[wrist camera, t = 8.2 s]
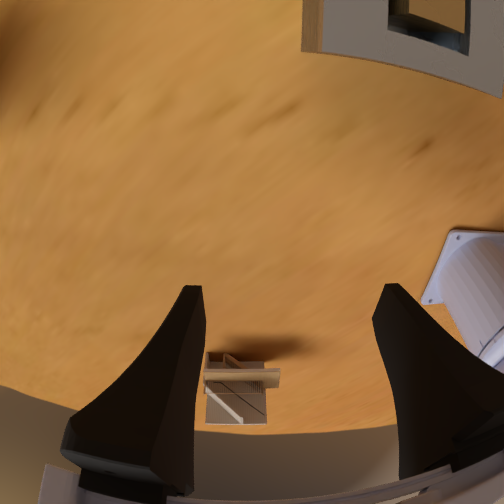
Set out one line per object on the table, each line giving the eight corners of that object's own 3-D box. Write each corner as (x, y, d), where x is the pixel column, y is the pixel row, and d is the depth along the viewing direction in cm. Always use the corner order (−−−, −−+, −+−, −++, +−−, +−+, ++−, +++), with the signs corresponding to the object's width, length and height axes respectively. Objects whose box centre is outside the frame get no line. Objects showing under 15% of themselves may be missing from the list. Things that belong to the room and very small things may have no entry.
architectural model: (204, 339, 29) (197, 409, 23) (277, 338, 29) (283, 408, 23) (208, 359, 31) (203, 423, 25) (275, 358, 31) (280, 423, 25)
